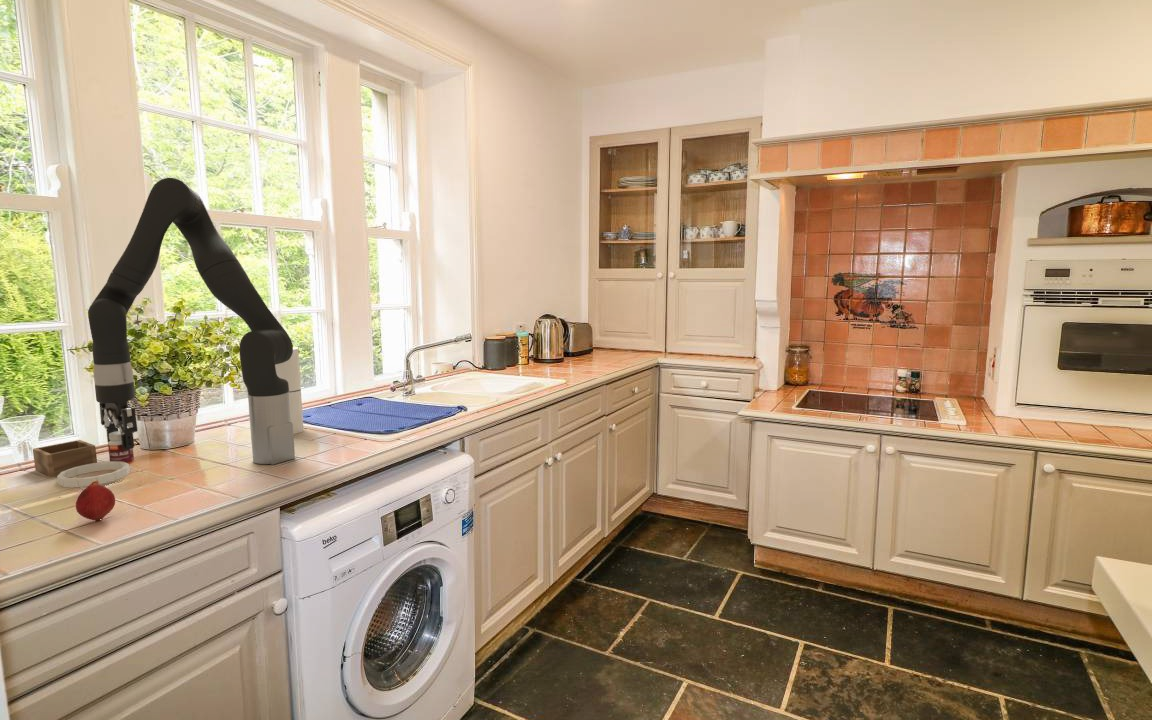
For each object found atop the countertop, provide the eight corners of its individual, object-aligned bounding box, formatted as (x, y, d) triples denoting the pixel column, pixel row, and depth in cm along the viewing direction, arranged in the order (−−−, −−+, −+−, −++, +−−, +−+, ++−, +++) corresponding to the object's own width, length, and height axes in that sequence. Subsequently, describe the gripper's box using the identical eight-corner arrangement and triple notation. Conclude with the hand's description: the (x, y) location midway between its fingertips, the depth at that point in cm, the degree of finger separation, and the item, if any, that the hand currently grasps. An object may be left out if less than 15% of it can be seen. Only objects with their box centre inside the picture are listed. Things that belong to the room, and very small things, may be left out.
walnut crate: (98, 469, 143) (95, 445, 142) (50, 480, 135) (47, 455, 134) (82, 463, 147) (79, 439, 146) (35, 473, 140) (32, 448, 139)
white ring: (139, 477, 137) (137, 467, 137) (72, 494, 127) (71, 483, 126) (115, 468, 144) (114, 458, 143) (50, 483, 133) (49, 472, 133)
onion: (85, 530, 110) (80, 488, 108) (73, 522, 113) (67, 482, 111) (122, 519, 114) (117, 479, 113) (109, 512, 117) (104, 473, 116)
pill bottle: (108, 470, 142) (104, 436, 141) (112, 464, 147) (109, 431, 145) (132, 467, 145) (129, 433, 143) (136, 461, 149) (132, 429, 147)
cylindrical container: (284, 435, 172) (278, 351, 169) (272, 431, 177) (266, 348, 173) (308, 430, 178) (302, 348, 174) (296, 426, 182) (290, 346, 179)
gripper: (145, 382, 142) (151, 447, 145) (120, 375, 150) (126, 437, 152) (107, 387, 136) (114, 455, 138) (83, 380, 144) (90, 444, 146)
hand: (120, 445), depth 145 cm, fingers open, 8 cm apart
